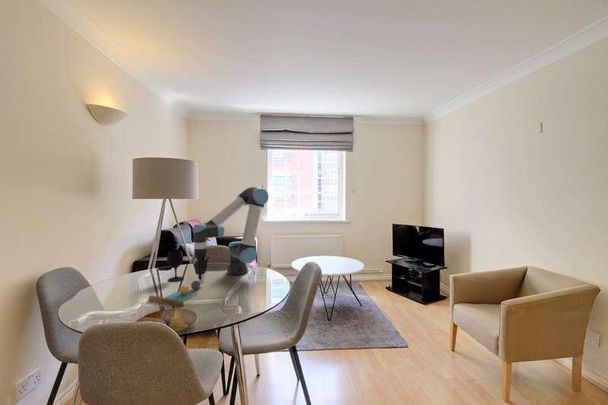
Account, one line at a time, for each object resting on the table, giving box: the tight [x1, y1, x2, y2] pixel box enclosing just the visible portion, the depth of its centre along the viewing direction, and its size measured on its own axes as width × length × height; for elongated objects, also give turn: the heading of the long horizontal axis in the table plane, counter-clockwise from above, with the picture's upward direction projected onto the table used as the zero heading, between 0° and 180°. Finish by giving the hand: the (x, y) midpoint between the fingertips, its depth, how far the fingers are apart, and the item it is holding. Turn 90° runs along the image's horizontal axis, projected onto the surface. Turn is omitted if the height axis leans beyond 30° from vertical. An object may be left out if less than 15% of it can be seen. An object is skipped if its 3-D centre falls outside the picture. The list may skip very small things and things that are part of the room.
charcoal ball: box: [190, 280, 201, 291], centre depth 197 cm, size 6×6×6 cm
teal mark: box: [164, 290, 198, 303], centre depth 186 cm, size 14×14×1 cm
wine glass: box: [166, 249, 185, 283], centre depth 216 cm, size 10×10×20 cm
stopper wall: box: [148, 294, 185, 308], centre depth 176 cm, size 2×24×2 cm, turn 67°
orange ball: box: [178, 285, 190, 295], centre depth 189 cm, size 6×6×6 cm
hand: (201, 283), depth 203 cm, fingers closed
